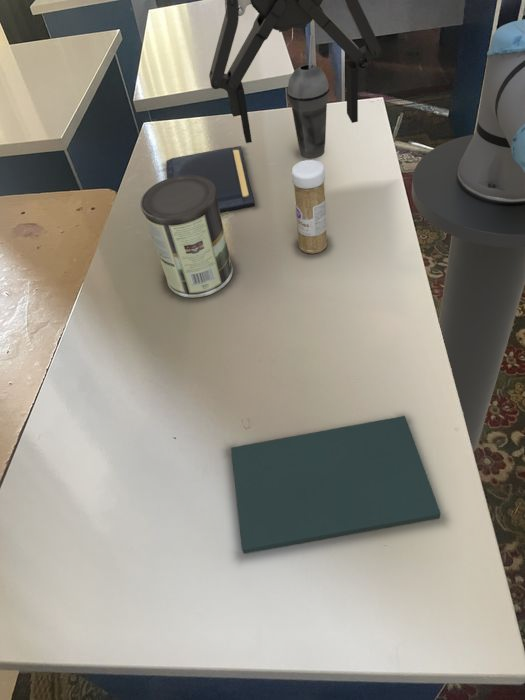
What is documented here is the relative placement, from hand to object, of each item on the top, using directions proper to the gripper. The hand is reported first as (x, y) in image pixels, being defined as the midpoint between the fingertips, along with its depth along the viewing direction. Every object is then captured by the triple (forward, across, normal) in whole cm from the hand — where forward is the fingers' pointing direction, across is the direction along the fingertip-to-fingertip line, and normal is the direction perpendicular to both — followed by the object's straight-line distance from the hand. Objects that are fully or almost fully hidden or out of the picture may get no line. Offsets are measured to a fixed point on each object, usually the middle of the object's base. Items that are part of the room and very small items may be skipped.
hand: (299, 127), depth 72 cm
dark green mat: (+20, -6, -39) cm, 44 cm away
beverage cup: (+20, +6, +28) cm, 35 cm away
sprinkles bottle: (+20, +1, +1) cm, 20 cm away
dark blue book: (+20, -14, +24) cm, 34 cm away
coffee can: (+20, -17, -1) cm, 26 cm away
